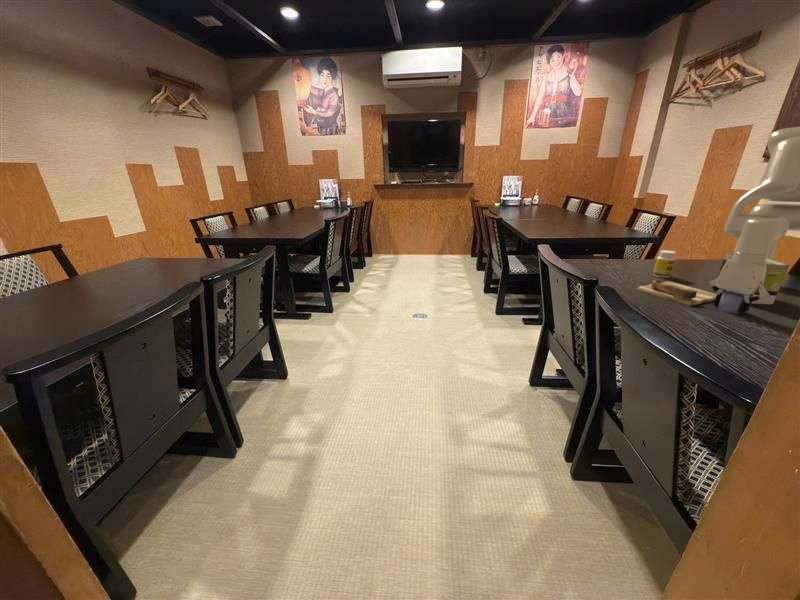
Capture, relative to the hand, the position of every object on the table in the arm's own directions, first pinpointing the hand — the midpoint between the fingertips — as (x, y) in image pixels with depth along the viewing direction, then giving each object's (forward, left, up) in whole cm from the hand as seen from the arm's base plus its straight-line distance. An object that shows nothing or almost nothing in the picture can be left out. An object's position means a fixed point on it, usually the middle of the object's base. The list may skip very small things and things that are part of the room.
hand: (729, 308), depth 110 cm
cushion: (0, 0, -1) cm, 1 cm away
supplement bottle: (-18, -35, -1) cm, 39 cm away
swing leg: (+4, -16, +1) cm, 17 cm away
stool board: (-1, -17, -1) cm, 17 cm away
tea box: (-18, -6, -1) cm, 19 cm away
